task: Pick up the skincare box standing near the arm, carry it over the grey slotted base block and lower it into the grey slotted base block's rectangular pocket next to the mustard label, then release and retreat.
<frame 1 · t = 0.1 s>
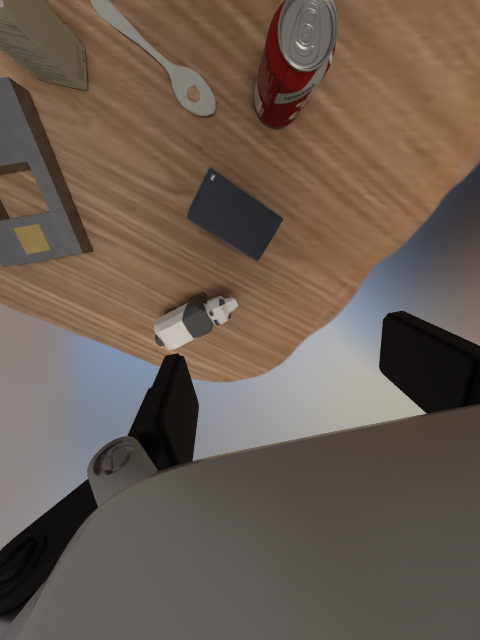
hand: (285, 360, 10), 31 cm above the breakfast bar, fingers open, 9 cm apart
spoon: (148, 53, 29), on the breakfast bar
grey slotted base block: (23, 187, 33), on the breakfast bar
small box: (231, 219, 37), on the breakfast bar
giant panda: (197, 309, 42), on the breakfast bar
soda can: (276, 100, 31), on the breakfast bar
skincare box: (61, 65, 28), on the breakfast bar
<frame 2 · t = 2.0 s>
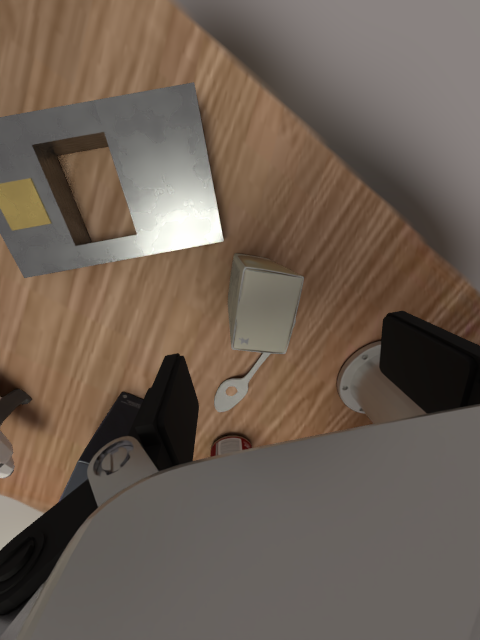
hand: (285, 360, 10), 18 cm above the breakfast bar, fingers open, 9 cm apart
spoon: (259, 355, 32), on the breakfast bar
grey slotted base block: (114, 195, 23), on the breakfast bar
small box: (129, 421, 34), on the breakfast bar
giant panda: (4, 391, 31), on the breakfast bar
soda can: (231, 445, 38), on the breakfast bar
skincare box: (247, 279, 27), on the breakfast bar
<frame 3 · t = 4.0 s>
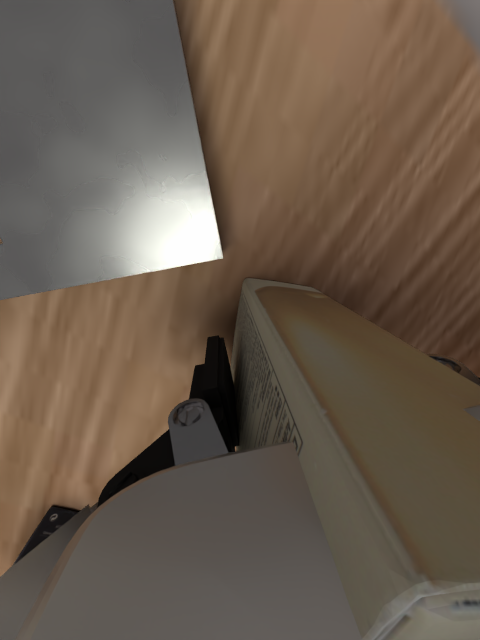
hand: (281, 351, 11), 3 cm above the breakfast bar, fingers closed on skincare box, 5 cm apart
small box: (71, 539, 21), on the breakfast bar
skincare box: (269, 325, 14), on the breakfast bar, touching gripper
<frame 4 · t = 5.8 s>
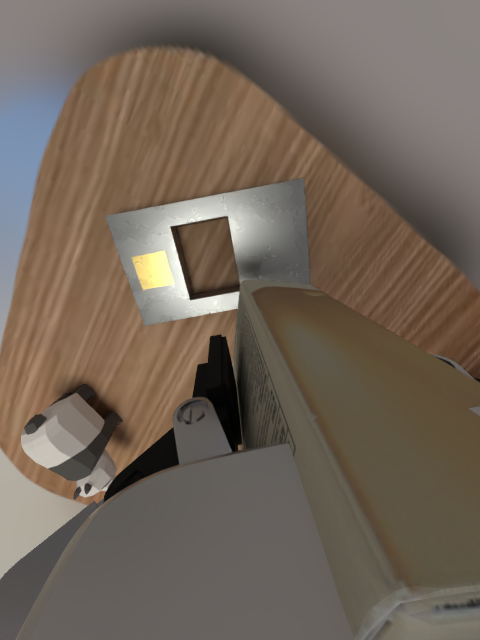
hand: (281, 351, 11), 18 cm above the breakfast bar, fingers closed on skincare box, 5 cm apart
grey slotted base block: (217, 256, 27), on the breakfast bar
giant panda: (99, 413, 35), on the breakfast bar
skincare box: (269, 325, 14), point 15 cm above the breakfast bar, touching gripper
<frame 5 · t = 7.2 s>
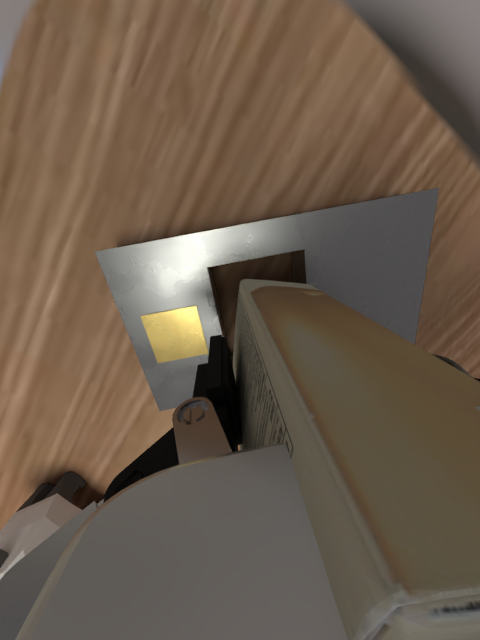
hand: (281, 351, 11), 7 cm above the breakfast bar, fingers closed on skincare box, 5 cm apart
grey slotted base block: (269, 302, 18), on the breakfast bar
giant panda: (92, 502, 26), on the breakfast bar
skincare box: (268, 325, 14), point 4 cm above the breakfast bar, touching gripper
when the fingers open (4 cm above the breakfast bar, at t = 8.1 s): skincare box drops 1 cm, resting in grey slotted base block.
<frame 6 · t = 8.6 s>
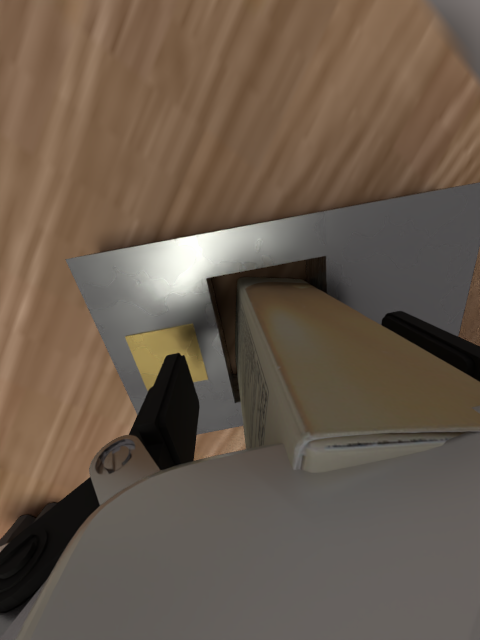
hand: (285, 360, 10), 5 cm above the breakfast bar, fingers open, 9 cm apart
grey slotted base block: (279, 315, 15), on the breakfast bar
giant panda: (79, 534, 23), on the breakfast bar
skincare box: (266, 318, 16), resting in grey slotted base block
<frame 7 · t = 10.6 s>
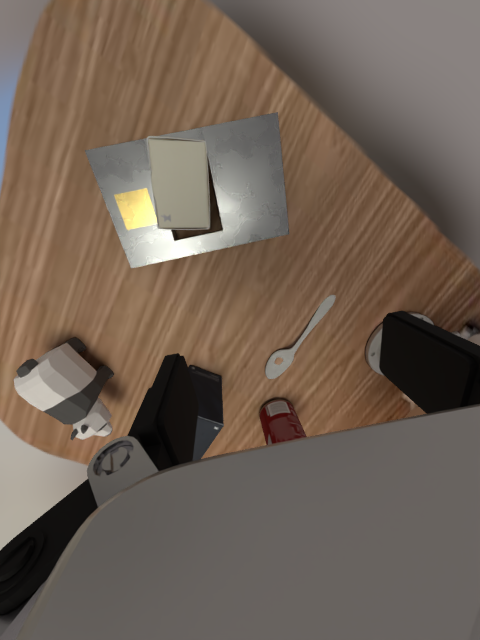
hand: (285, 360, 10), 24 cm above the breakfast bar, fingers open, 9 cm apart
spoon: (302, 329, 38), on the breakfast bar
grey slotted base block: (199, 199, 28), on the breakfast bar
small box: (192, 391, 40), on the breakfast bar
giant panda: (91, 368, 36), on the breakfast bar
soda can: (275, 409, 44), on the breakfast bar
skincare box: (192, 202, 28), resting in grey slotted base block
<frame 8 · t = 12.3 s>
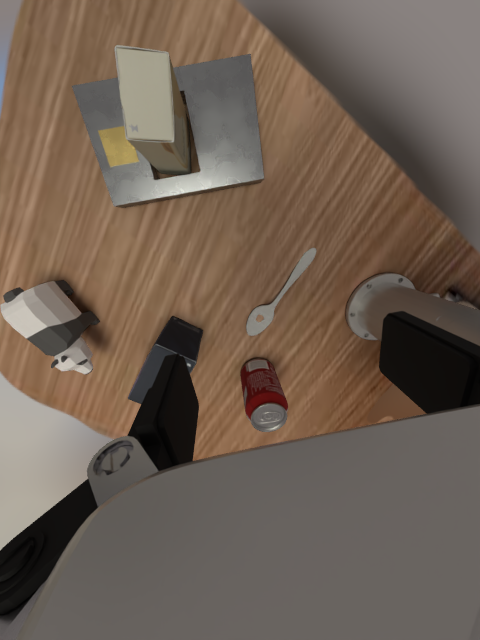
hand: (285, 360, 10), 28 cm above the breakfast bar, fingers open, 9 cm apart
spoon: (283, 286, 39), on the breakfast bar
grey slotted base block: (180, 144, 30), on the breakfast bar
small box: (175, 344, 41), on the breakfast bar
giant panda: (78, 314, 38), on the breakfast bar
soda can: (256, 370, 45), on the breakfast bar
skincare box: (174, 147, 30), resting in grey slotted base block
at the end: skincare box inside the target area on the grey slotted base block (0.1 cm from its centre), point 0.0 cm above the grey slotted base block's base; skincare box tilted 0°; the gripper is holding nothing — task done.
